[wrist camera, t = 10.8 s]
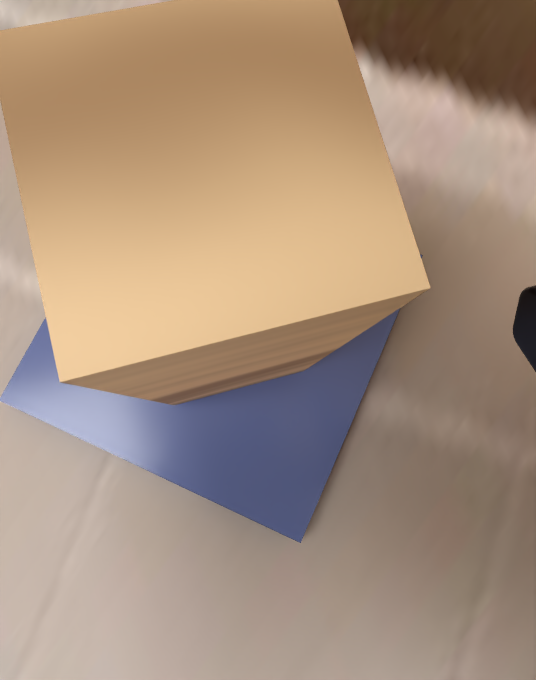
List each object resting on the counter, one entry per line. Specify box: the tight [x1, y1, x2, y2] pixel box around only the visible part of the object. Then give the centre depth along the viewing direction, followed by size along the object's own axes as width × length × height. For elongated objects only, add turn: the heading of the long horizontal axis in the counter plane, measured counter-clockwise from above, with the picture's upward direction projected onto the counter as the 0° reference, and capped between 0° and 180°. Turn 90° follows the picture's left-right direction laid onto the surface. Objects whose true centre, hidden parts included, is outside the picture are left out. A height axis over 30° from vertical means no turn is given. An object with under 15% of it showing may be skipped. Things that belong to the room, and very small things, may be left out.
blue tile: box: [0, 254, 423, 543], centre depth 19 cm, size 12×12×1 cm
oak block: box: [0, 0, 431, 405], centre depth 13 cm, size 5×5×12 cm
